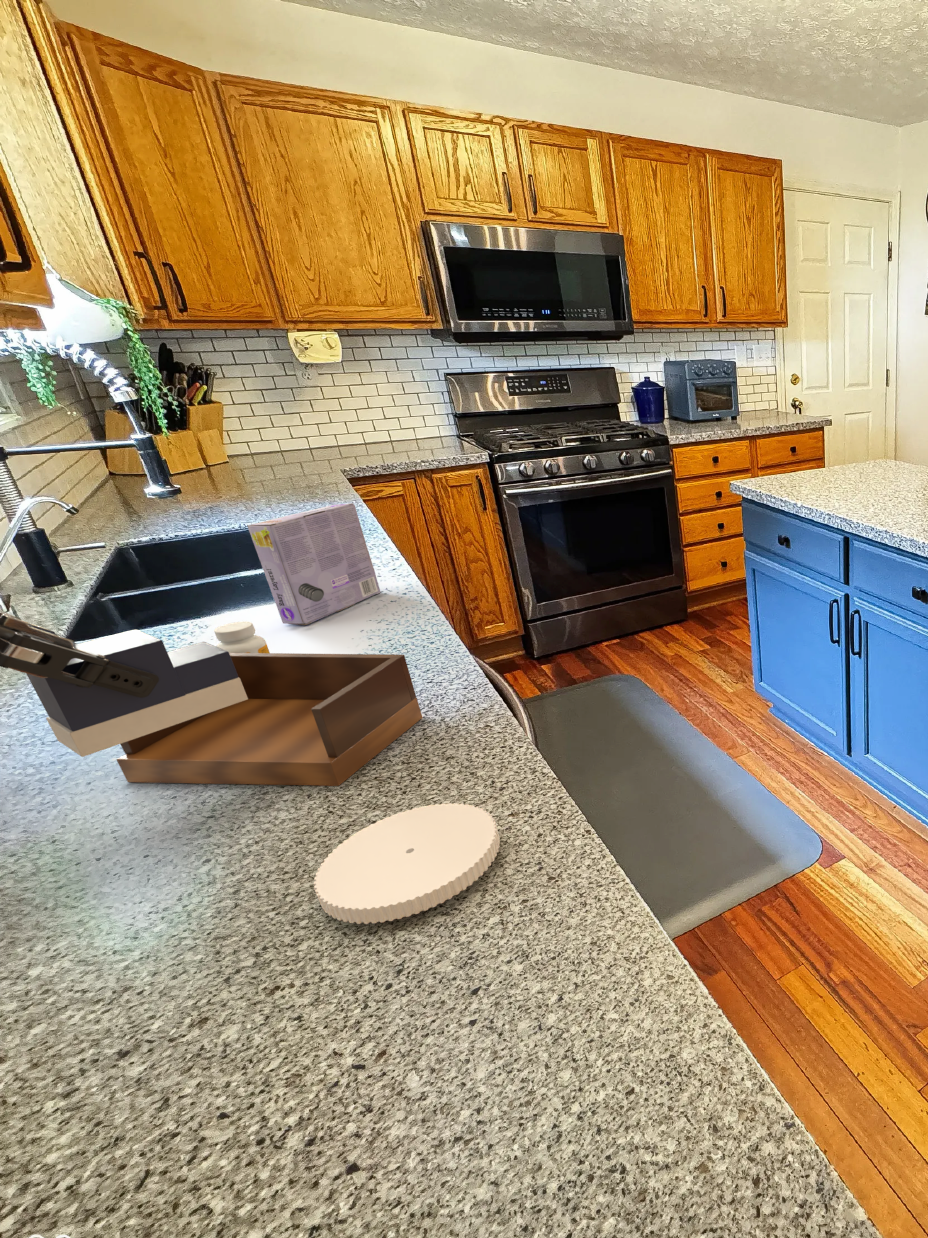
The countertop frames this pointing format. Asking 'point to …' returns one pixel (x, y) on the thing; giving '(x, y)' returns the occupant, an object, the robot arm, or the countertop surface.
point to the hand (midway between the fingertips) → (136, 679)
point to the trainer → (113, 717)
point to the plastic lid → (407, 863)
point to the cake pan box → (315, 562)
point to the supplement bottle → (240, 638)
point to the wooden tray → (286, 724)
